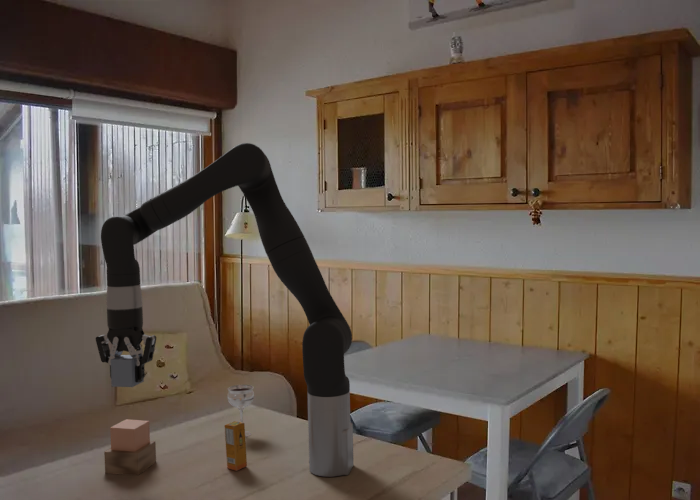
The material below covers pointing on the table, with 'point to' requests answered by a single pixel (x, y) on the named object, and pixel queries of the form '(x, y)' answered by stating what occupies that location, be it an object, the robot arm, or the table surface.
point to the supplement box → (235, 445)
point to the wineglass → (241, 399)
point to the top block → (130, 435)
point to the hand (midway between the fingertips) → (127, 381)
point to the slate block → (123, 372)
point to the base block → (130, 460)
